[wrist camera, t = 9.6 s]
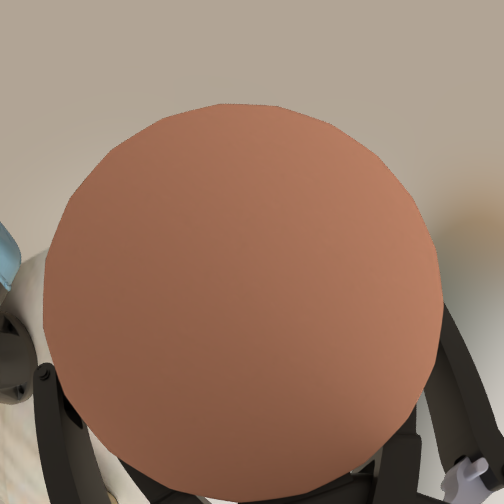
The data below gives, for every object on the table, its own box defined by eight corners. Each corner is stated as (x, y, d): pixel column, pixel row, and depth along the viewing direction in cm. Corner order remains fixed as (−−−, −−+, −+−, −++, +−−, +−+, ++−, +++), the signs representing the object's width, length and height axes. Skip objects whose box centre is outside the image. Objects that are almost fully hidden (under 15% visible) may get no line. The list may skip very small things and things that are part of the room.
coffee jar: (154, 265, 24) (47, 140, 6) (273, 244, 25) (375, 102, 8) (178, 388, 21) (104, 516, 4) (300, 362, 23) (462, 413, 6)
